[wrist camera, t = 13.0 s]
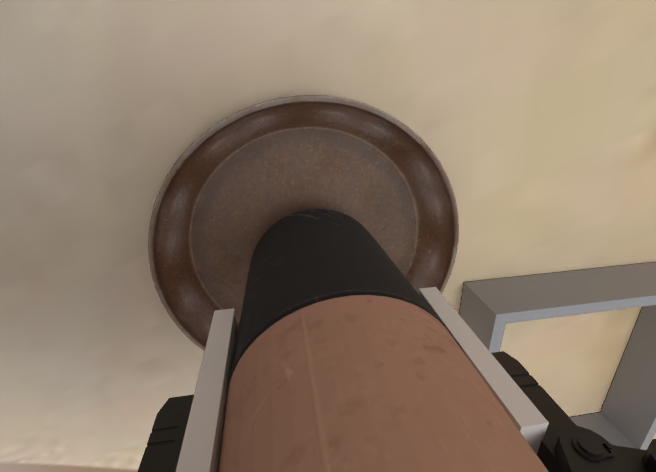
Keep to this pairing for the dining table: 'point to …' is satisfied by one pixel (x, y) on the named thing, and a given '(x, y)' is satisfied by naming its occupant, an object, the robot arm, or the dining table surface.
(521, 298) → the grey open square frame
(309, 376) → the travel mug
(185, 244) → the plant saucer
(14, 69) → the dining table surface
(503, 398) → the robot arm
